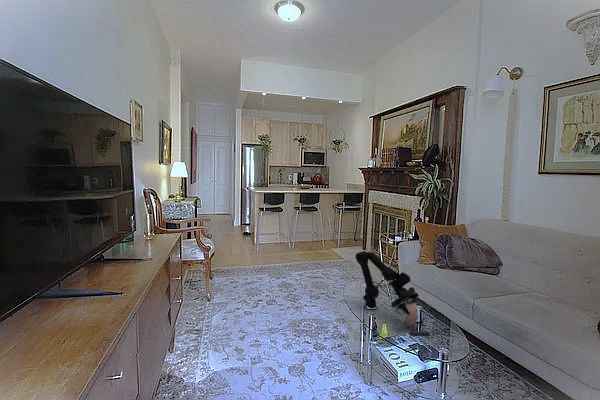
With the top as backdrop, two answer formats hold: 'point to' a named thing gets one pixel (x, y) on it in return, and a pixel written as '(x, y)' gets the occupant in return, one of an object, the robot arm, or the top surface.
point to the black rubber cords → (419, 331)
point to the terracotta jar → (411, 313)
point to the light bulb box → (398, 308)
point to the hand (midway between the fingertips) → (412, 313)
